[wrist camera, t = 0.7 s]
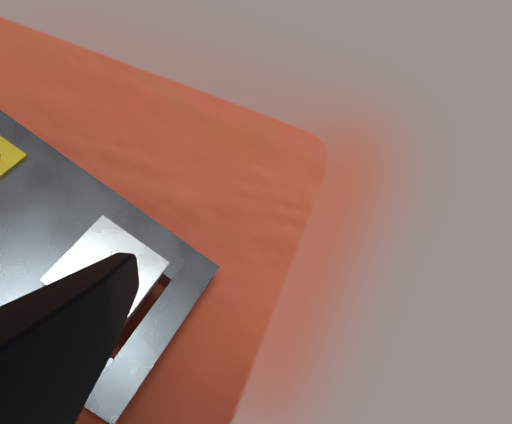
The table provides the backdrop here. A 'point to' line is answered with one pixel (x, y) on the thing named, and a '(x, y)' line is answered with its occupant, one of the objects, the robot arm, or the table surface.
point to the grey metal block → (104, 245)
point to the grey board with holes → (68, 233)
